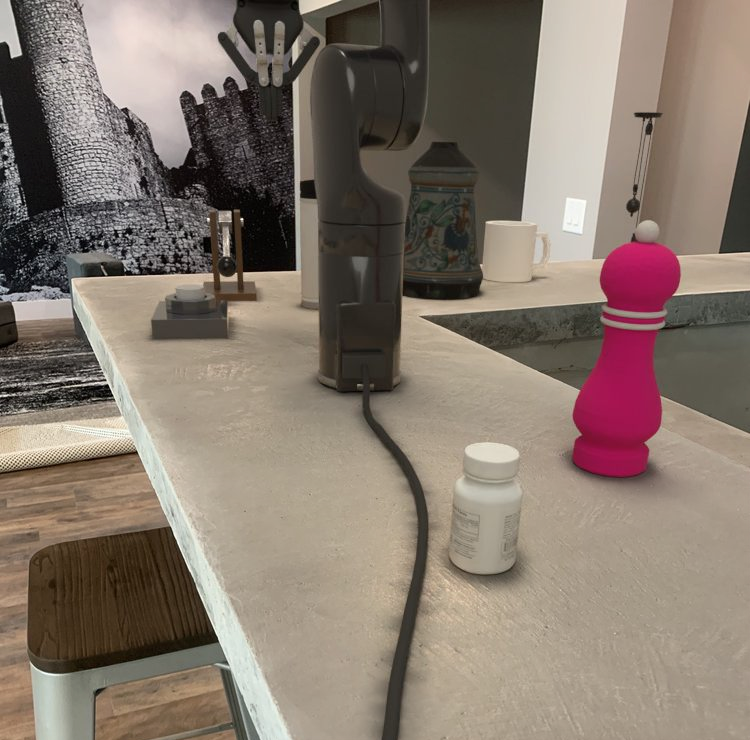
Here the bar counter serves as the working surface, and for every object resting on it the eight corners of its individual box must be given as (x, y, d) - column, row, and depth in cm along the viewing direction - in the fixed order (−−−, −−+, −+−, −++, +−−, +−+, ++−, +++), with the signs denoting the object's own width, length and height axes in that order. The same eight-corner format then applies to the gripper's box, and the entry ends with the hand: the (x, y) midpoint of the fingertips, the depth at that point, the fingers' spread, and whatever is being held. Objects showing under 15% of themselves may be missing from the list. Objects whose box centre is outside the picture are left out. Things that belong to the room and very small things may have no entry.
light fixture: (600, 267, 173) (622, 112, 160) (634, 267, 175) (659, 113, 161) (620, 274, 164) (646, 111, 151) (656, 274, 166) (685, 112, 153)
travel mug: (336, 311, 123) (336, 176, 114) (296, 308, 124) (294, 174, 115) (345, 304, 128) (346, 174, 120) (307, 301, 129) (305, 173, 121)
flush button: (204, 302, 106) (203, 289, 106) (175, 302, 106) (174, 289, 105) (205, 296, 110) (204, 284, 109) (177, 296, 109) (176, 284, 109)
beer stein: (431, 303, 130) (439, 141, 120) (365, 285, 145) (367, 140, 134) (500, 294, 139) (514, 143, 129) (432, 279, 154) (439, 141, 143)
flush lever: (237, 281, 123) (236, 265, 121) (217, 281, 123) (216, 265, 120) (235, 224, 131) (234, 208, 128) (216, 224, 130) (214, 208, 128)
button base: (228, 338, 105) (226, 305, 103) (153, 339, 103) (149, 306, 101) (228, 318, 116) (227, 288, 114) (161, 319, 115) (158, 288, 113)
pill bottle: (507, 544, 53) (519, 439, 49) (521, 576, 49) (534, 465, 46) (444, 543, 53) (452, 438, 49) (452, 576, 49) (461, 464, 45)
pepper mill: (588, 442, 71) (622, 214, 63) (664, 462, 67) (713, 221, 59) (551, 464, 66) (584, 219, 58) (632, 487, 62) (679, 227, 53)
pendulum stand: (256, 301, 129) (252, 214, 123) (201, 301, 127) (195, 213, 122) (255, 288, 140) (251, 208, 134) (204, 288, 138) (198, 207, 132)
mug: (534, 273, 163) (539, 220, 158) (555, 281, 154) (561, 225, 150) (474, 274, 160) (478, 220, 156) (492, 282, 151) (497, 225, 147)
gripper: (207, -54, 85) (218, 118, 93) (325, -47, 88) (326, 121, 95) (209, -41, 92) (219, 120, 100) (319, -34, 94) (320, 122, 102)
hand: (271, 120), depth 97 cm, fingers closed
